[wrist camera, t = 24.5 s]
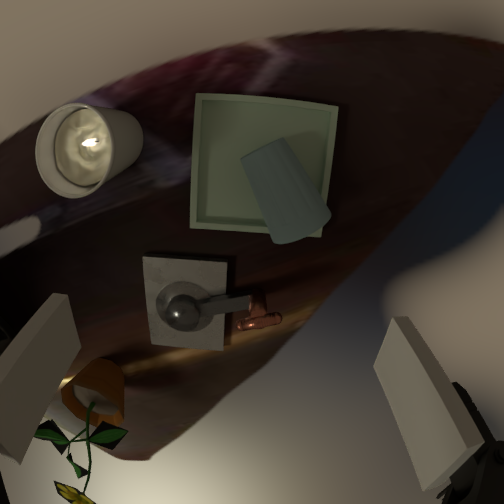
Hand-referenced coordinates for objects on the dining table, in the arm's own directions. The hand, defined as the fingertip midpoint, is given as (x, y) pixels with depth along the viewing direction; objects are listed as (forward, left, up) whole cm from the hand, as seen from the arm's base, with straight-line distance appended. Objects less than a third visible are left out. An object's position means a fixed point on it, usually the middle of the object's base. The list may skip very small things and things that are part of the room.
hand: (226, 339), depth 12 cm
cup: (+2, +4, -30) cm, 31 cm away
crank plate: (-7, -19, -31) cm, 37 cm away
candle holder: (-17, +5, -31) cm, 36 cm away
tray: (+2, +2, -31) cm, 31 cm away
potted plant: (-24, -37, -31) cm, 54 cm away
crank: (-7, -19, -29) cm, 36 cm away
